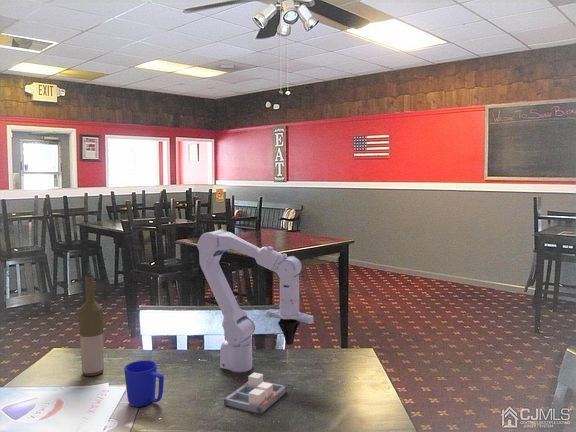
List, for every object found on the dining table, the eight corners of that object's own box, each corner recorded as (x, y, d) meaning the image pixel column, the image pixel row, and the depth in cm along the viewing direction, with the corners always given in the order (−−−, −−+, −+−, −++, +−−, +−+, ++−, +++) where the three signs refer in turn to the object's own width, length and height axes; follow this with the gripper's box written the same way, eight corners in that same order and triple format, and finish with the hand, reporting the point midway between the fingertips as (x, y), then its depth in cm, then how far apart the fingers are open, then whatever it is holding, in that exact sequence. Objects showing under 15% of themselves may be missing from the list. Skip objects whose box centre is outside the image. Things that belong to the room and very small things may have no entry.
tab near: (248, 408, 127) (248, 393, 126) (254, 403, 129) (254, 388, 129) (258, 410, 125) (258, 395, 125) (264, 405, 128) (264, 390, 127)
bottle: (84, 369, 154) (80, 274, 152) (107, 368, 155) (104, 273, 153) (77, 378, 147) (73, 279, 145) (102, 377, 148) (98, 278, 146)
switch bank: (224, 408, 129) (224, 398, 128) (252, 387, 141) (252, 378, 141) (260, 417, 124) (260, 407, 123) (286, 395, 136) (286, 385, 136)
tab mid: (257, 401, 130) (257, 386, 130) (263, 396, 133) (263, 382, 133) (267, 403, 129) (267, 388, 129) (272, 398, 132) (272, 384, 131)
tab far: (248, 390, 137) (248, 376, 136) (254, 386, 140) (254, 372, 139) (257, 392, 135) (257, 378, 135) (263, 388, 138) (263, 374, 138)
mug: (150, 416, 124) (149, 378, 123) (118, 404, 131) (117, 368, 130) (174, 403, 131) (173, 367, 130) (142, 393, 138) (141, 358, 137)
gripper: (261, 298, 145) (261, 344, 146) (306, 304, 138) (306, 352, 140) (272, 293, 151) (273, 337, 153) (316, 299, 145) (316, 344, 146)
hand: (289, 343), depth 147 cm, fingers closed
